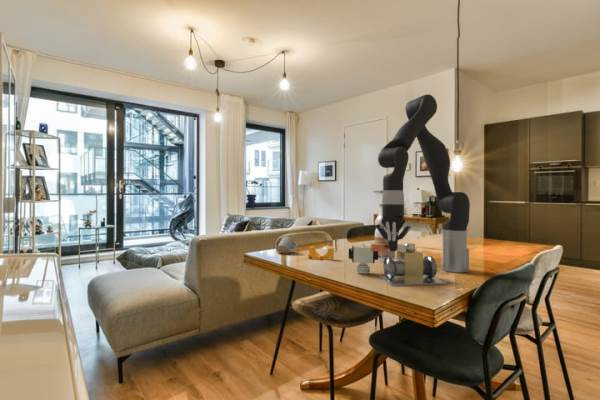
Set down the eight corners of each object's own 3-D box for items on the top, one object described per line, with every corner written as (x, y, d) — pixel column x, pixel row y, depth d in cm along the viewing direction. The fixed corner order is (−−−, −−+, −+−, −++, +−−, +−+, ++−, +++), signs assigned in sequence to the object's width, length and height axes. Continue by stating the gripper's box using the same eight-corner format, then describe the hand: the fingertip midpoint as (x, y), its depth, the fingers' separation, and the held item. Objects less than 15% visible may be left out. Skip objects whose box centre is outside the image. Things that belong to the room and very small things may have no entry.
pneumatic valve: (378, 275, 125) (378, 245, 125) (348, 273, 128) (348, 244, 128) (377, 272, 131) (377, 243, 131) (349, 270, 133) (349, 242, 133)
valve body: (427, 275, 125) (427, 248, 125) (446, 284, 112) (446, 253, 112) (378, 277, 122) (379, 249, 122) (392, 286, 110) (392, 255, 109)
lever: (416, 251, 117) (416, 244, 117) (372, 251, 116) (372, 244, 116) (412, 249, 121) (412, 243, 121) (369, 249, 120) (369, 243, 120)
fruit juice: (370, 261, 154) (370, 203, 154) (383, 259, 159) (383, 203, 159) (385, 264, 146) (386, 204, 146) (398, 262, 152) (398, 204, 152)
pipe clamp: (307, 260, 156) (307, 247, 156) (311, 259, 160) (311, 246, 160) (330, 262, 151) (330, 249, 151) (333, 260, 155) (333, 247, 155)
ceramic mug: (281, 257, 171) (273, 247, 170) (288, 248, 177) (280, 237, 176) (294, 253, 164) (285, 242, 163) (301, 243, 170) (292, 232, 169)
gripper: (415, 203, 113) (415, 251, 113) (380, 203, 121) (380, 248, 121) (407, 203, 107) (407, 254, 107) (371, 203, 115) (371, 250, 115)
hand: (393, 251), depth 114 cm, fingers closed
